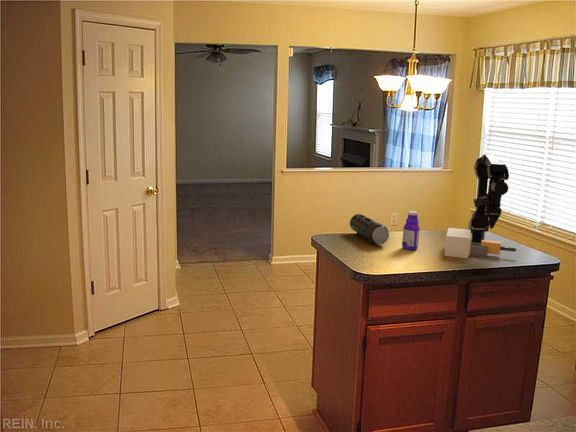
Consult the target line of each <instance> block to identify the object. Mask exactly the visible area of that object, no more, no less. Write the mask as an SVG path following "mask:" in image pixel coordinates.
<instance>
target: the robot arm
mask: <svg viewBox="0 0 576 432" xmlns="http://www.w3.org/2000/svg"><path fill="white" fill-rule="evenodd" d="M473 169H474V171H475V172H474V174H475V177H476V178H477V190H476V198H473V199H472V200H473V204H474V208H475V210H474V211H473V212H472V214H471V217H470V219H469V221H468V225H467V230H471V233H472V235H473V237H472V242H473V243H481V240H485V234H486V232H489V229H491V230H492V229H494V227H495V225H496V223H497V222H498V220H499V218H500V217H501V215H502V210H503V209H502V208H501V201H502V196H504V195H506V194H507V193H508V191H509V185H508V184H507V182H505V181H508V180H509V178H510V173H509V168H508V166H507V164H506V162H505V163H504V162H502V161H501V162H500V161H499V160H498V159H497V158H496V155H495V154H493V153H484V154H482V156H481V157H479V158H476V160H475V162H474V165H473Z"/></svg>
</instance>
